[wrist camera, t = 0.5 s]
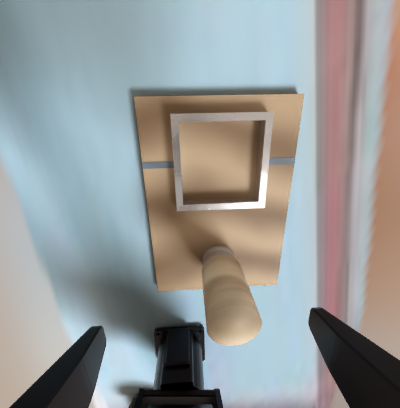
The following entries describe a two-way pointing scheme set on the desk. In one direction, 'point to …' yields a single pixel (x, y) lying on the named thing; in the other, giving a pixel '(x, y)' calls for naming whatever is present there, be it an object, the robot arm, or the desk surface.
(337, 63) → the desk surface
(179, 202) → the collar
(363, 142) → the desk surface
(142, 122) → the subfloor panel
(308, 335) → the desk surface
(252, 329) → the beige rounded cylinder
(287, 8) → the desk surface
